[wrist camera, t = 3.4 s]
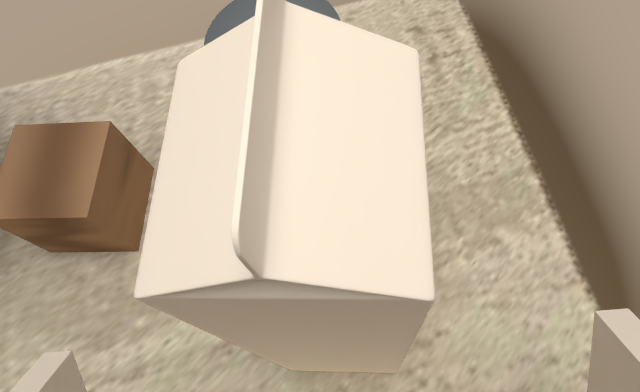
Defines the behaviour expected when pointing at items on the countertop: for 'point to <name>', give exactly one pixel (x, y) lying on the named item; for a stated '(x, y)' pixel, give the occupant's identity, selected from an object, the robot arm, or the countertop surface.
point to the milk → (295, 195)
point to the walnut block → (74, 187)
